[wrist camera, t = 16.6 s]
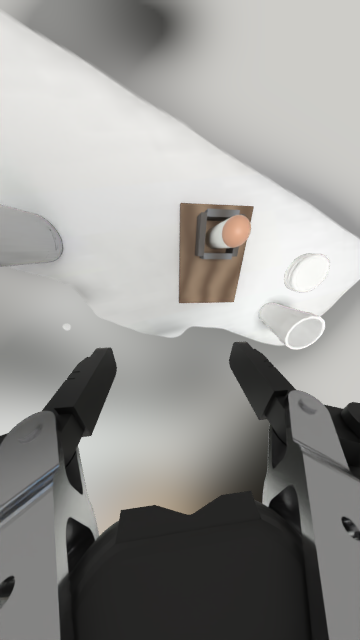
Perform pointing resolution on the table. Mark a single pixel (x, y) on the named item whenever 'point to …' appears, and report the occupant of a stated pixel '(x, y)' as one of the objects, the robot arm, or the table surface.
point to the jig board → (208, 255)
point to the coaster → (307, 272)
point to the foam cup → (292, 325)
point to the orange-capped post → (229, 233)
